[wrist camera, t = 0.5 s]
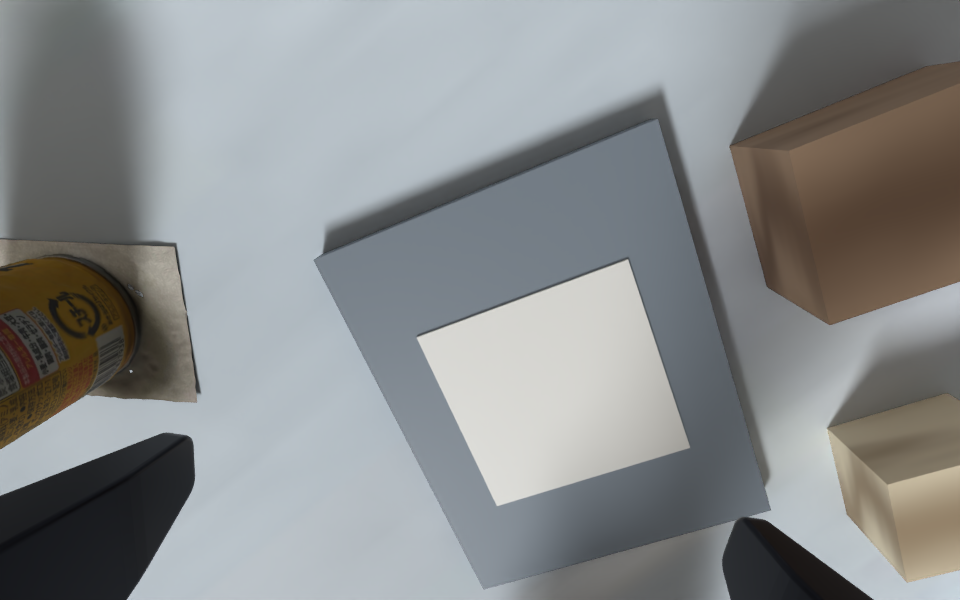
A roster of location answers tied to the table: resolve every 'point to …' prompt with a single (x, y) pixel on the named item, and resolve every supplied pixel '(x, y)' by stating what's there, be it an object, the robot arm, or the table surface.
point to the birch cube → (905, 483)
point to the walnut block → (860, 196)
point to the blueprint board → (556, 360)
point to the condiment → (88, 328)
